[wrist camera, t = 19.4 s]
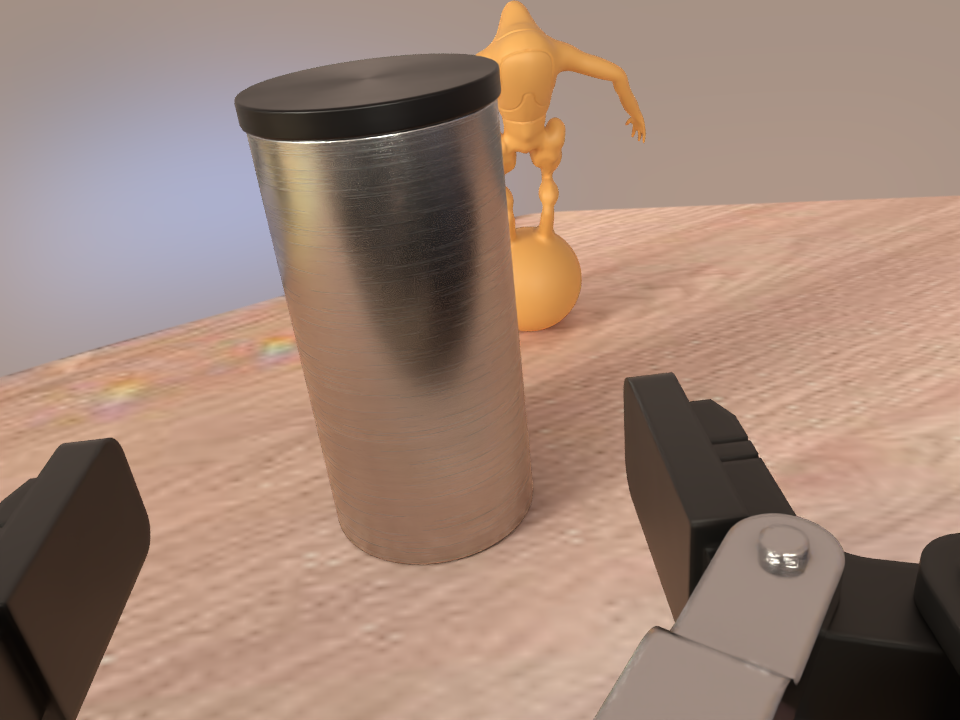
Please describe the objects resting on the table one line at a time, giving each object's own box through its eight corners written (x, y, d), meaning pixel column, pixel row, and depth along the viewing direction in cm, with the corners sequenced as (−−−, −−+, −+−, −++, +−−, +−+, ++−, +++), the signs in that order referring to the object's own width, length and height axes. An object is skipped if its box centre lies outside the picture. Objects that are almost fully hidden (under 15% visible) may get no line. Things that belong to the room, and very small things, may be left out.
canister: (323, 580, 21) (205, 124, 16) (344, 450, 26) (260, 71, 21) (549, 554, 21) (509, 87, 16) (525, 429, 26) (490, 44, 21)
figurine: (624, 291, 34) (617, -24, 29) (666, 359, 29) (669, -11, 23) (426, 318, 34) (379, 5, 28) (433, 392, 29) (377, 26, 23)
